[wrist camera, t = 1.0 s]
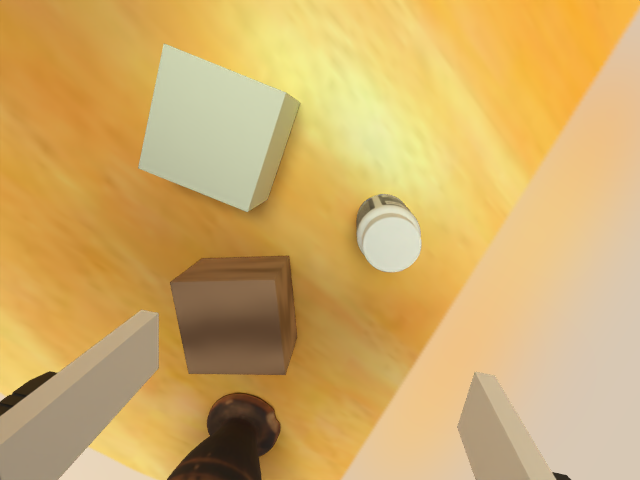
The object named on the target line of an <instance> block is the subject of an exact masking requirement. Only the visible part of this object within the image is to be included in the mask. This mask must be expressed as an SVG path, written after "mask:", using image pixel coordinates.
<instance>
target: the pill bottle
mask: <svg viewBox="0 0 640 480" xmlns="http://www.w3.org/2000/svg"><path fill="white" fill-rule="evenodd" d="M357 242H358V246H359V248H360V250H361V252H362V253H363V254H364V256H365V257H366V259H367V261H368V262H369V263H370V264H371V265H372V266H373V267H375V268H376V269H378V270H381V271H384V272H398V271H402V270H404V269H406V268H408V267H409V266H411V265H412V264H413V263H414V262H415V261H416V259H417V258H418V256H419V254H420V250H421V231H420V227H419V224H418V221H417V219H416V218H415V216H414V215H413V214H412V213H411V212H410V210H409V209H408V208H407V207H406V205H405V204H404V203H403V202H402V201H401V200H400V199H398V198H397V197H395V196H392V195H388V194H380V195H375V196H373V197H371V198H369V199H367V200H366V201H365V202H364V203H363V204H362V205H361V207H360V209H359V211H358V214H357Z"/></svg>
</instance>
